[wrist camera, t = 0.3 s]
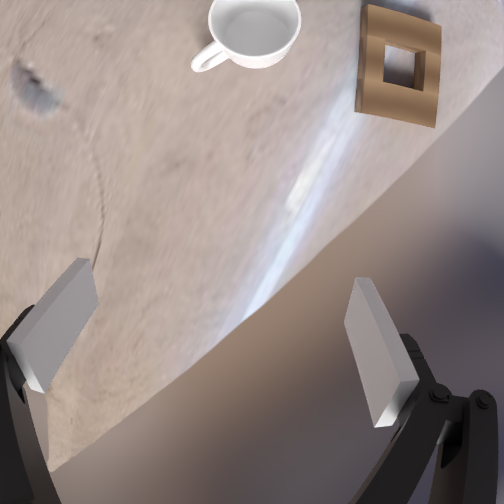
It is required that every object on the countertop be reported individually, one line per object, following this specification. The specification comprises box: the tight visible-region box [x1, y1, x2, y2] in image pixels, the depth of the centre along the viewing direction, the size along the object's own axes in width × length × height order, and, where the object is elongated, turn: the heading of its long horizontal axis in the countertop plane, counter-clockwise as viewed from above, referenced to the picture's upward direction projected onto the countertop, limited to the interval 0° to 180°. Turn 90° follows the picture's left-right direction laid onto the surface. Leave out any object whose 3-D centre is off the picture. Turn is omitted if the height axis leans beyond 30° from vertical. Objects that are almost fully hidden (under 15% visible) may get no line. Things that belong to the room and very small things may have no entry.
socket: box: [355, 4, 441, 128], centre depth 31 cm, size 14×10×3 cm
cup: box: [191, 0, 301, 72], centre depth 28 cm, size 8×12×10 cm
